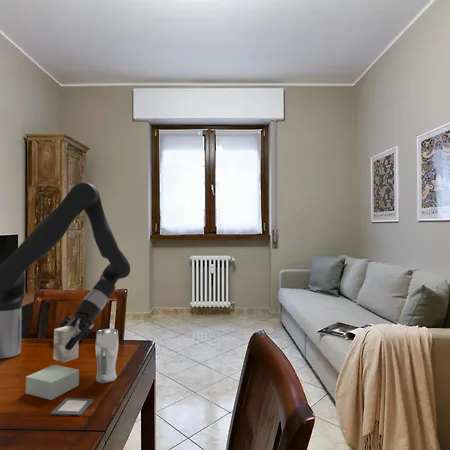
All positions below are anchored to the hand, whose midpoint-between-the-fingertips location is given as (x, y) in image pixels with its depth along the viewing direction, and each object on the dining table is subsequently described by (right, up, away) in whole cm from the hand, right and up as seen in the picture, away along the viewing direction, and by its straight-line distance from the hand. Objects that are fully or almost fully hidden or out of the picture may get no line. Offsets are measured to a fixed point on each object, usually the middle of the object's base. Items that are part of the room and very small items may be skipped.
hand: (61, 347), depth 117 cm
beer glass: (+17, -8, -5) cm, 19 cm away
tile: (+14, -8, -23) cm, 28 cm away
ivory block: (+1, -4, +1) cm, 5 cm away
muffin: (-11, -9, +33) cm, 36 cm away
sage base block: (+3, -8, -13) cm, 16 cm away
